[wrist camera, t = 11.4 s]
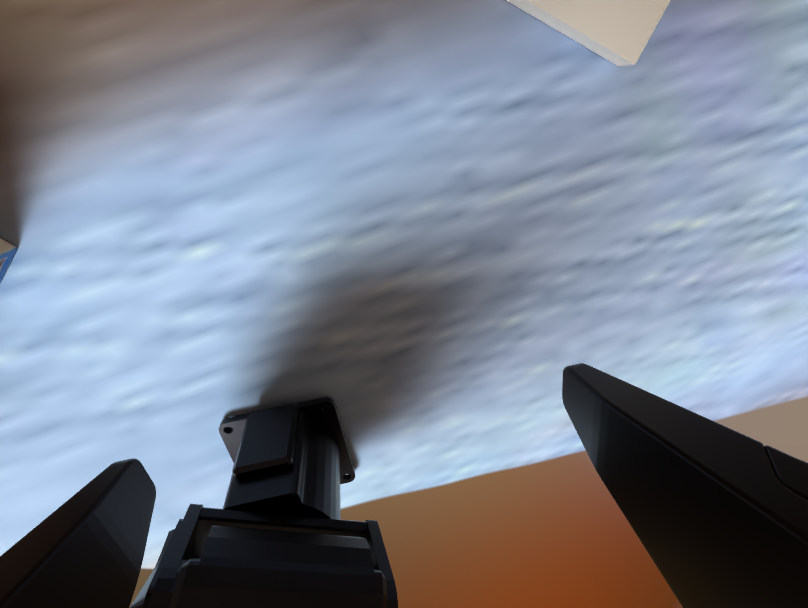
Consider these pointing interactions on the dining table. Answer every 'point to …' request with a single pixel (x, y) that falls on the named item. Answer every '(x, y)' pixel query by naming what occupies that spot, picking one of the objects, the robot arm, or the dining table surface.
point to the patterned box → (5, 256)
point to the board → (601, 23)
